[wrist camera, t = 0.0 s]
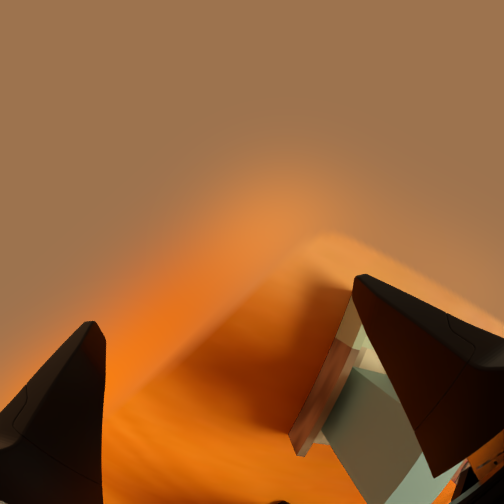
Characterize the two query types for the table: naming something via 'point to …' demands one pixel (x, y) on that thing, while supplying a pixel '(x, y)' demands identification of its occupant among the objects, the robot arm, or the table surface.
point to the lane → (328, 393)
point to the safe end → (353, 329)
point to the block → (380, 443)
